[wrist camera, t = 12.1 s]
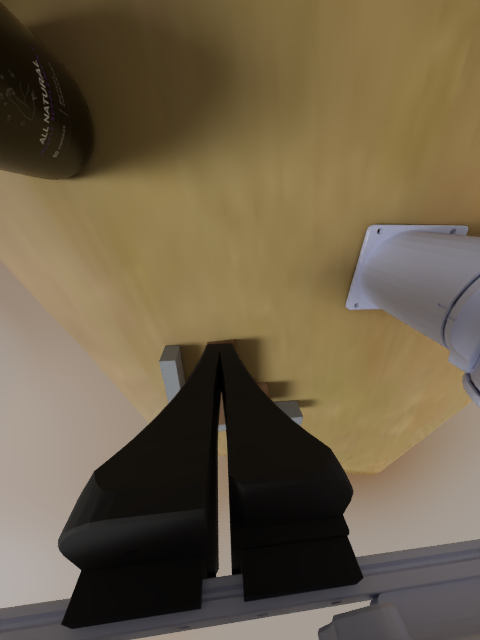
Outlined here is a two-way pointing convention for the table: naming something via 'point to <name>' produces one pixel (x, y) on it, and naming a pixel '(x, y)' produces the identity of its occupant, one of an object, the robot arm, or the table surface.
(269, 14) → the table surface
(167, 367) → the gray l-shaped block
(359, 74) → the table surface
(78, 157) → the supplement bottle
